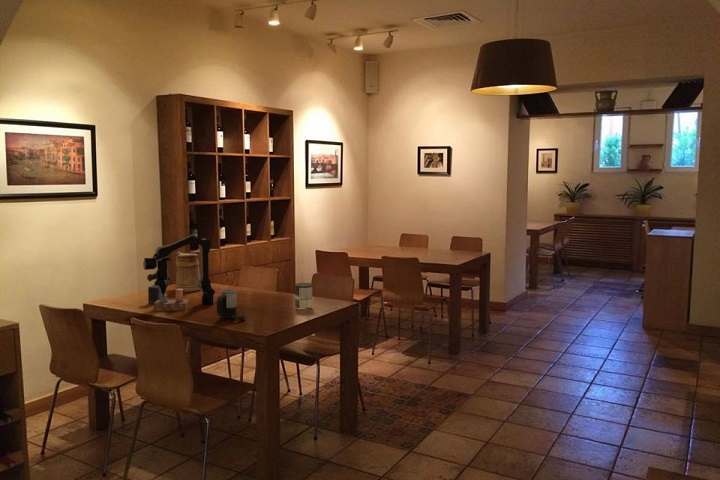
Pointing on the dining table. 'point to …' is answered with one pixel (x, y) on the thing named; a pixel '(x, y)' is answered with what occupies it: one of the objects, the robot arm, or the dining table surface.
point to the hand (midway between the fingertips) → (163, 294)
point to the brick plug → (179, 295)
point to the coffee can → (303, 295)
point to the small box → (153, 294)
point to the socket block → (170, 305)
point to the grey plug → (163, 298)
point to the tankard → (187, 272)
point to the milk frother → (227, 305)
